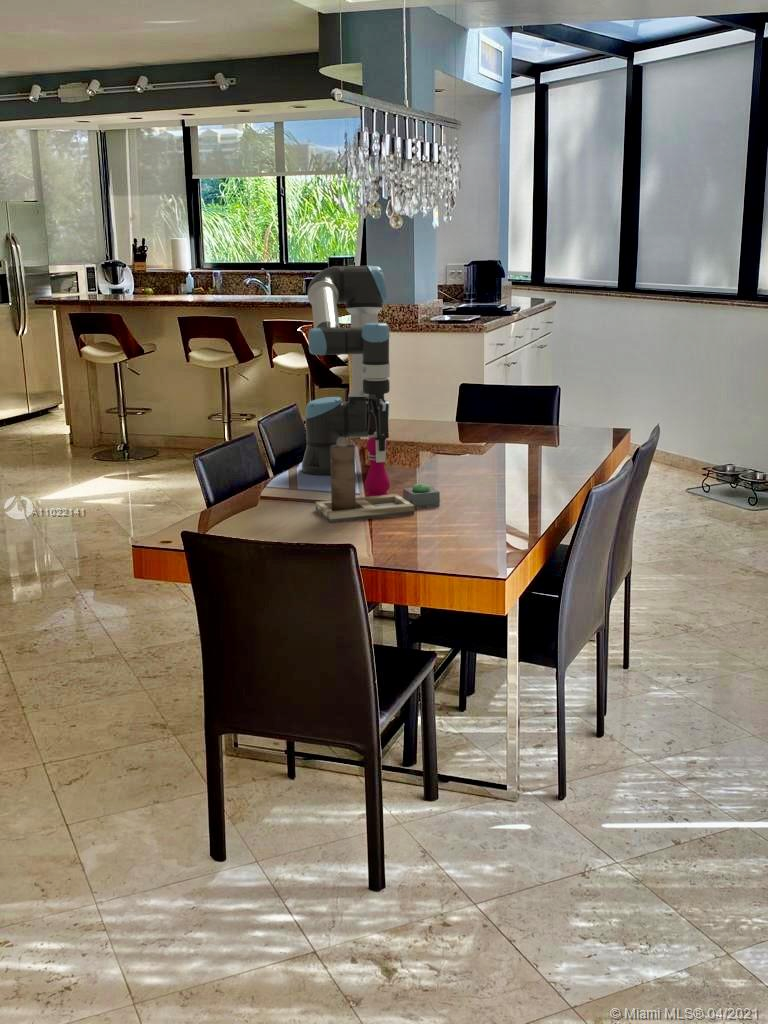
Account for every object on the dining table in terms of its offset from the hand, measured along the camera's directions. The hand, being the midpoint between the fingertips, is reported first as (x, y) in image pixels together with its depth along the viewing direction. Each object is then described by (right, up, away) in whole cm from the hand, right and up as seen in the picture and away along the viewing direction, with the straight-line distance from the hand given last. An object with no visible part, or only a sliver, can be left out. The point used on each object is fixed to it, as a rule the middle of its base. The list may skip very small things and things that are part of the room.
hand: (377, 459), depth 304 cm
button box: (+13, -13, -2) cm, 18 cm away
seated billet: (-9, -16, -12) cm, 22 cm away
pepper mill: (0, -12, +3) cm, 12 cm away
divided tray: (-3, -15, -10) cm, 19 cm away
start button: (+13, -12, -2) cm, 17 cm away
